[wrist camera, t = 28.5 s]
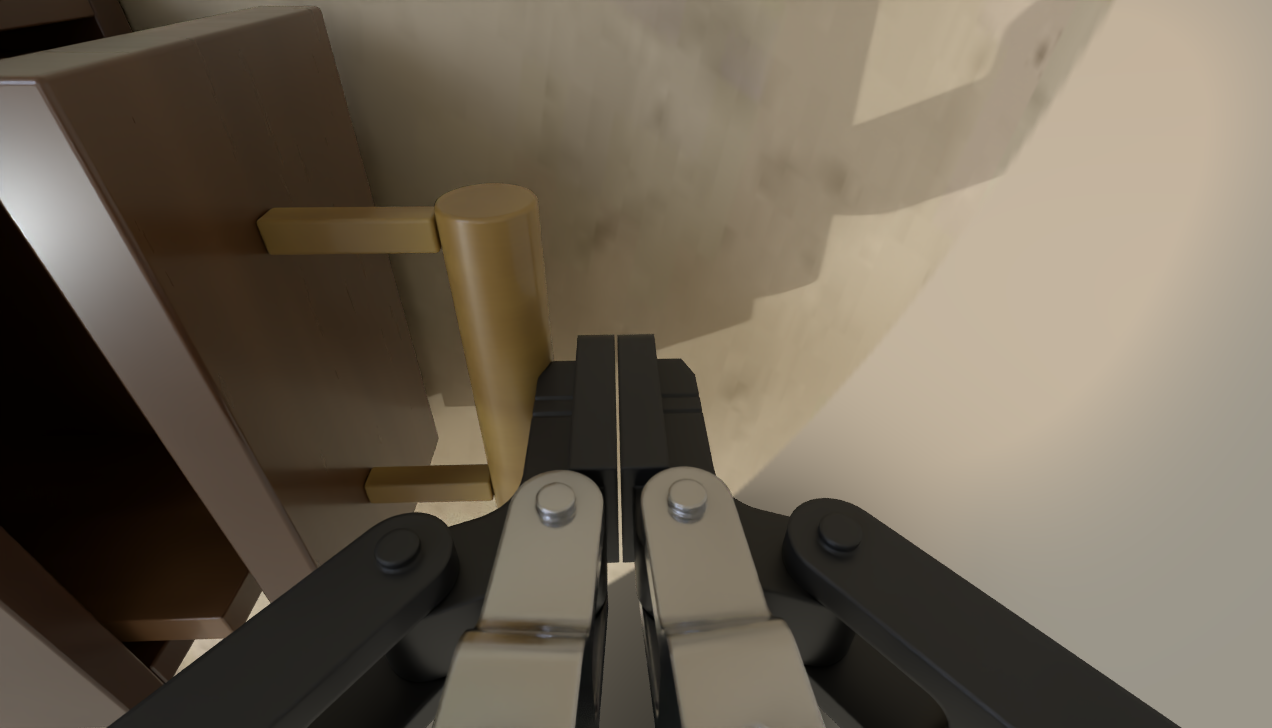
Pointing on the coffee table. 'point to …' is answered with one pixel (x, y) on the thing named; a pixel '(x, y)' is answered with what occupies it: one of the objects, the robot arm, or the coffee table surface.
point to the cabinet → (9, 575)
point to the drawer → (229, 322)
